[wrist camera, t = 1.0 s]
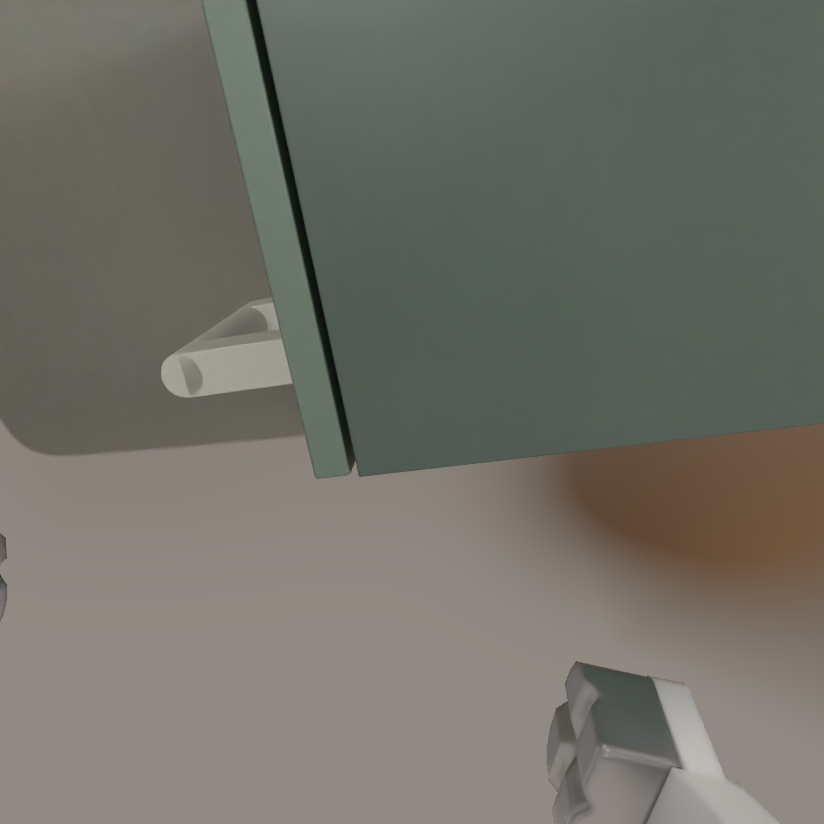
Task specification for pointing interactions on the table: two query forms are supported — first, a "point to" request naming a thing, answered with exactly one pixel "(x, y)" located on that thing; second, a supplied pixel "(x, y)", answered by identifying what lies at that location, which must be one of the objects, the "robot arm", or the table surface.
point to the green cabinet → (559, 218)
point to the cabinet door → (267, 261)
